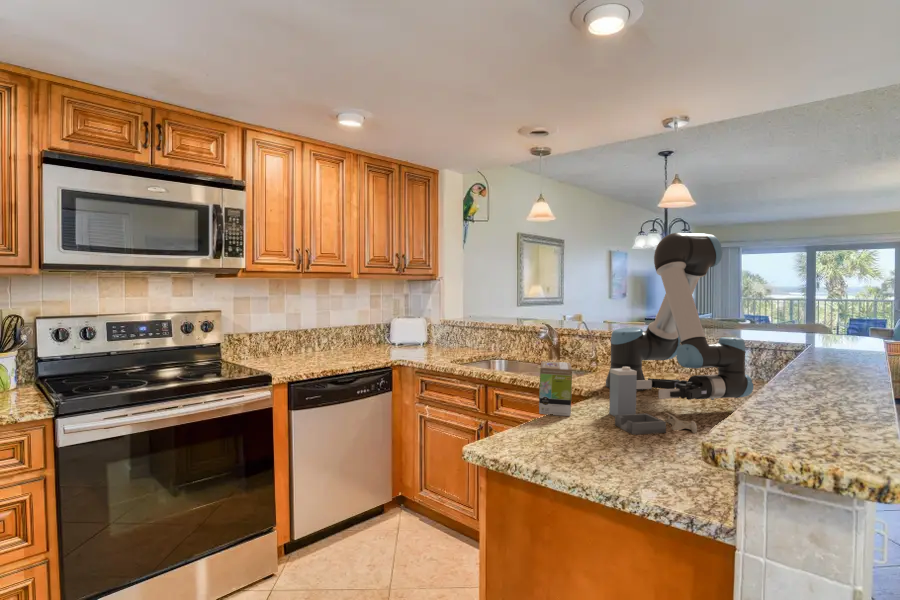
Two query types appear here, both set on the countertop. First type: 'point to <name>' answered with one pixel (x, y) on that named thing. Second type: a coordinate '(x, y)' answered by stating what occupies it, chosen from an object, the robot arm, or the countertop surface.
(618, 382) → the grey tall block
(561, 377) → the tea box
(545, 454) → the countertop surface
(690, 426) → the fossil
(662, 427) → the pocket
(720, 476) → the countertop surface
